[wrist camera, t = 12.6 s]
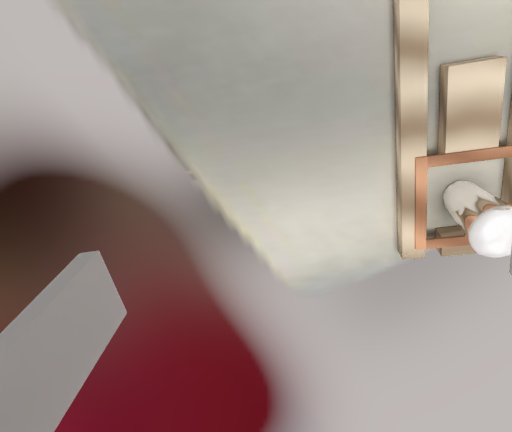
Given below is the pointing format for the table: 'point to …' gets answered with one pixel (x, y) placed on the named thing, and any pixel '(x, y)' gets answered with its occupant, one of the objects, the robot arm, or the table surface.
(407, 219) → the wooden slide rule
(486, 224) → the milkshake
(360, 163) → the table surface
